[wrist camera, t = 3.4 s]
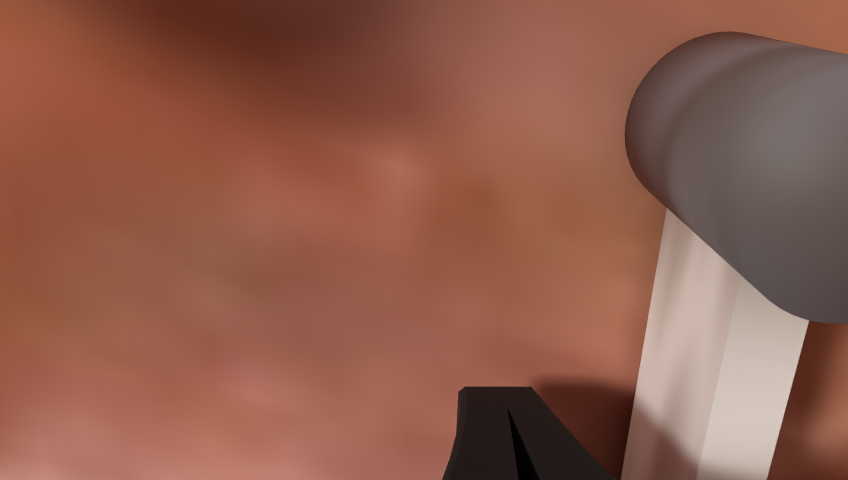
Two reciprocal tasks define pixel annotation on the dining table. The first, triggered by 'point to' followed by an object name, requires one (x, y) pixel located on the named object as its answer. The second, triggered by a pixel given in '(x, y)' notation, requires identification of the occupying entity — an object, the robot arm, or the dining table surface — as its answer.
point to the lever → (735, 245)
